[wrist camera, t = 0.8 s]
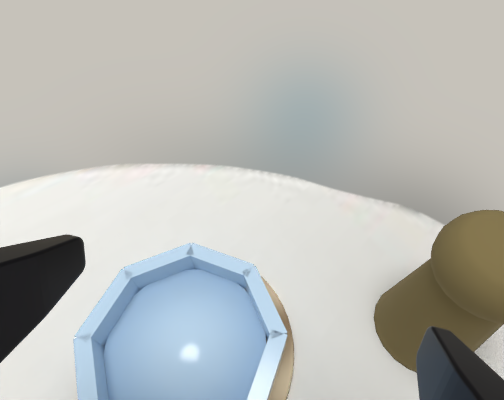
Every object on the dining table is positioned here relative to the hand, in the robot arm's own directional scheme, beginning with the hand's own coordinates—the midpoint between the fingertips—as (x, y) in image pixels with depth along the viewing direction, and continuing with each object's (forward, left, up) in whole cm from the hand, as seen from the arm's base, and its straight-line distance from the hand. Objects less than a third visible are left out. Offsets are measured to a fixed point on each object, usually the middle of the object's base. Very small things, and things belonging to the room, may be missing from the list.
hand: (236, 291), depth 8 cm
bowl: (+4, +3, -15) cm, 16 cm away
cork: (-1, -12, -16) cm, 20 cm away
